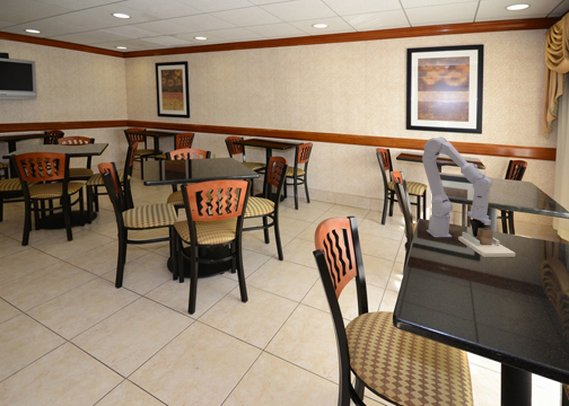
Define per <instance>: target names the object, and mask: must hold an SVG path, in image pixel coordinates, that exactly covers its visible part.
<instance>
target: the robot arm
mask: <svg viewBox="0 0 569 406" xmlns="http://www.w3.org/2000/svg"><path fill="white" fill-rule="evenodd" d="M423 147H424V148H423V154H422V159H421V160H422V161H421V162H422V164H423V168H424V171H425V174H426V178H427V183H428V186H429V188H430V192H431V197H432V198H431V202H430V203H431V213H432V214H431V215H430V217H429V219H428V229H426V232H427V233H429V234H430V235H431V236H432V237H434V238H452V237H453V236H452V235H451V234H450V233H449V230H450V219H451V215H450V213H451V212H452V211H453V208H454V207H453V206H454V205H453V203H452V202H451V200H450V199H449V197H448V196H447V194H446V193H445V189H444V186H443V182H442V180H441V175H440V171H439V168H438V165H437V161H436V160H437V158H438V157H439V156H440V155H445V156H448V157H449V159H451V161H453V162H454V163H455V164H456V165H457V166H458V167H459V168H460V173H461V174H462V175H463V176H464V177H465V178H466V179H467V180H468V181H469V183H471V184H472V188H473V190H474V191H473V197H472V198H473V199H472V207H471V211H470V210H469V211H467V217H470V218H471V219H468V221H469V224H470V226H471V230H472V236H474V237H477V233H478V228H486V226H491V225H492V224H491V223H492V220H491V219H489V218H490V216H489V215H487V214H488V209H489V201H490V200H489V199H490V189H491V187H492V186H493V181H492V179H491V177H489V176H486V174H485V173H483V171H481V170H480V169H479V168H478V165H477V164H476V163H473V162H467V160H466V159H465V158H464V157H463V156H462V155H461V154H460V152H459V151H458V150H457V149H456V148H455V147H454V146H453V144H452V143H451V142H450V141H448V140H447V139H446V138H445V137H441V136H439V137H436V138H435V137H433V138H429V139H428V140H427V141H426V143H425V144H424V145H423Z"/></svg>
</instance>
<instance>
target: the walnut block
mask: <svg viewBox="0 0 569 406" xmlns="http://www.w3.org/2000/svg"><path fill="white" fill-rule="evenodd" d="M492 238H494V230H493V229H491V228H489V227H484V228H478V233H477V240H479V241H480V244H481V245H492Z"/></svg>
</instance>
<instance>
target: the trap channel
mask: <svg viewBox="0 0 569 406" xmlns="http://www.w3.org/2000/svg"><path fill="white" fill-rule="evenodd" d="M457 239H458V241H460V242H461V243H463V244H464V245H466V246H467V247H468V248H470V249H472V250H473V251H474V252H475V253H477V254H479V255H480V256H482V257H483V258H516V252H514V251H513V250H511V249H509V248H507V247H506V246H504V245H502V244H500V240H499V239H497V238H495V237H493V238H492V245H481V244H480V241H479V240H477V237H474V236H473V235H471V234H469V233H467V232H466V231H462V235H461V236H458V238H457Z"/></svg>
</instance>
